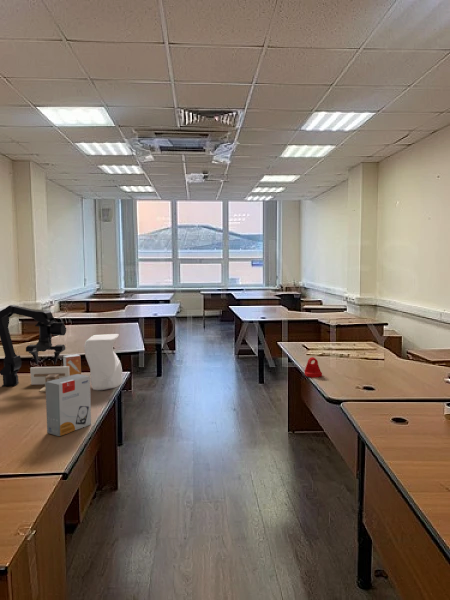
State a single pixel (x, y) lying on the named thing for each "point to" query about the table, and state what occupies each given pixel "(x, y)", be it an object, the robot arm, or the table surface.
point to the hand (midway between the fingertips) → (46, 364)
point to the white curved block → (103, 362)
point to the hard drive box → (68, 404)
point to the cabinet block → (52, 377)
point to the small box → (73, 363)
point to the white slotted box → (42, 372)
